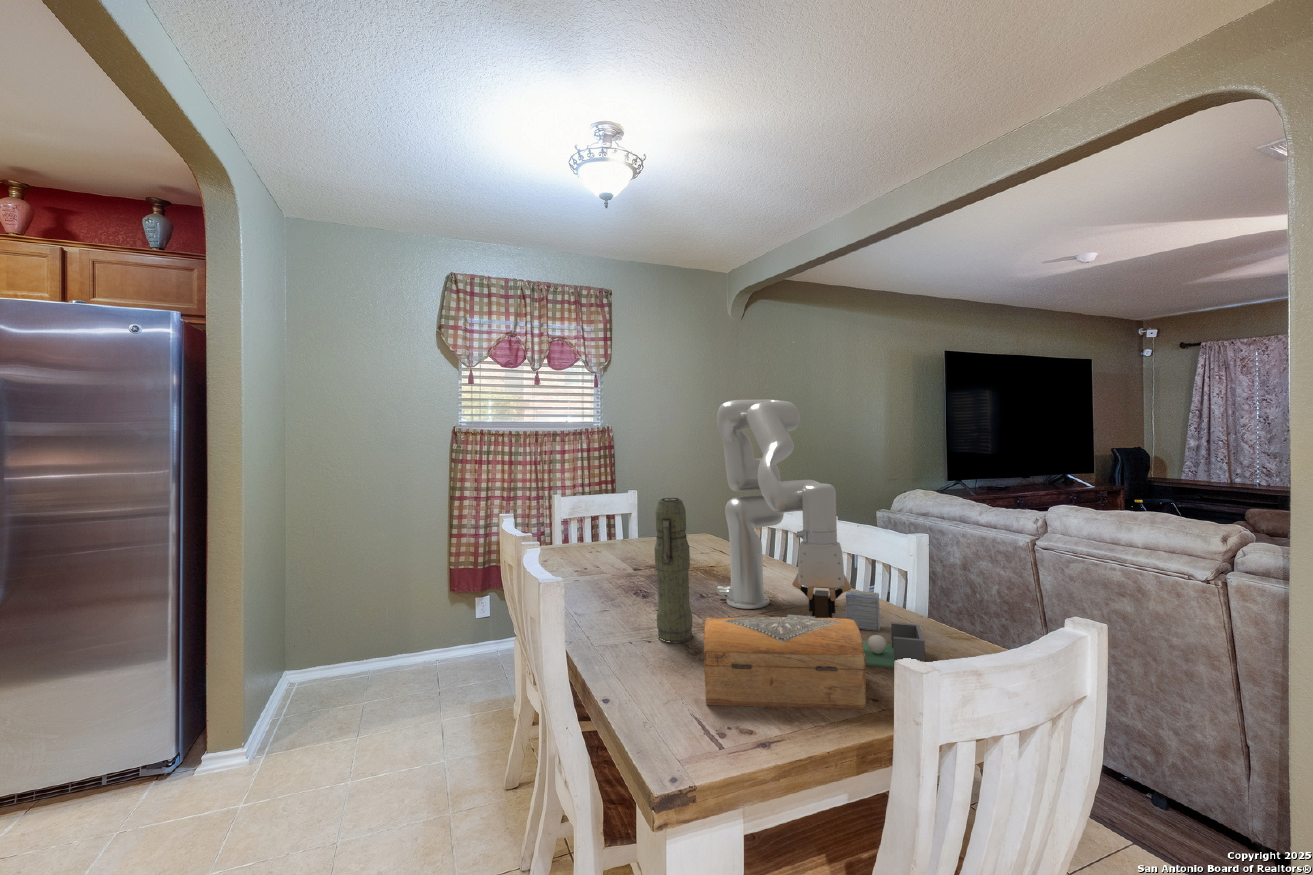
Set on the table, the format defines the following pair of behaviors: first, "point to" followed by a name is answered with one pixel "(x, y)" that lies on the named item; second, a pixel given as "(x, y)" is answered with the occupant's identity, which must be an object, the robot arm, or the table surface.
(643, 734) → the table surface
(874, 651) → the ball
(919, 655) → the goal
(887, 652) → the pitch mat
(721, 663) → the wooden box
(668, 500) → the thermos
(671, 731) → the table surface
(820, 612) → the grey brown blocky piece
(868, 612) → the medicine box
